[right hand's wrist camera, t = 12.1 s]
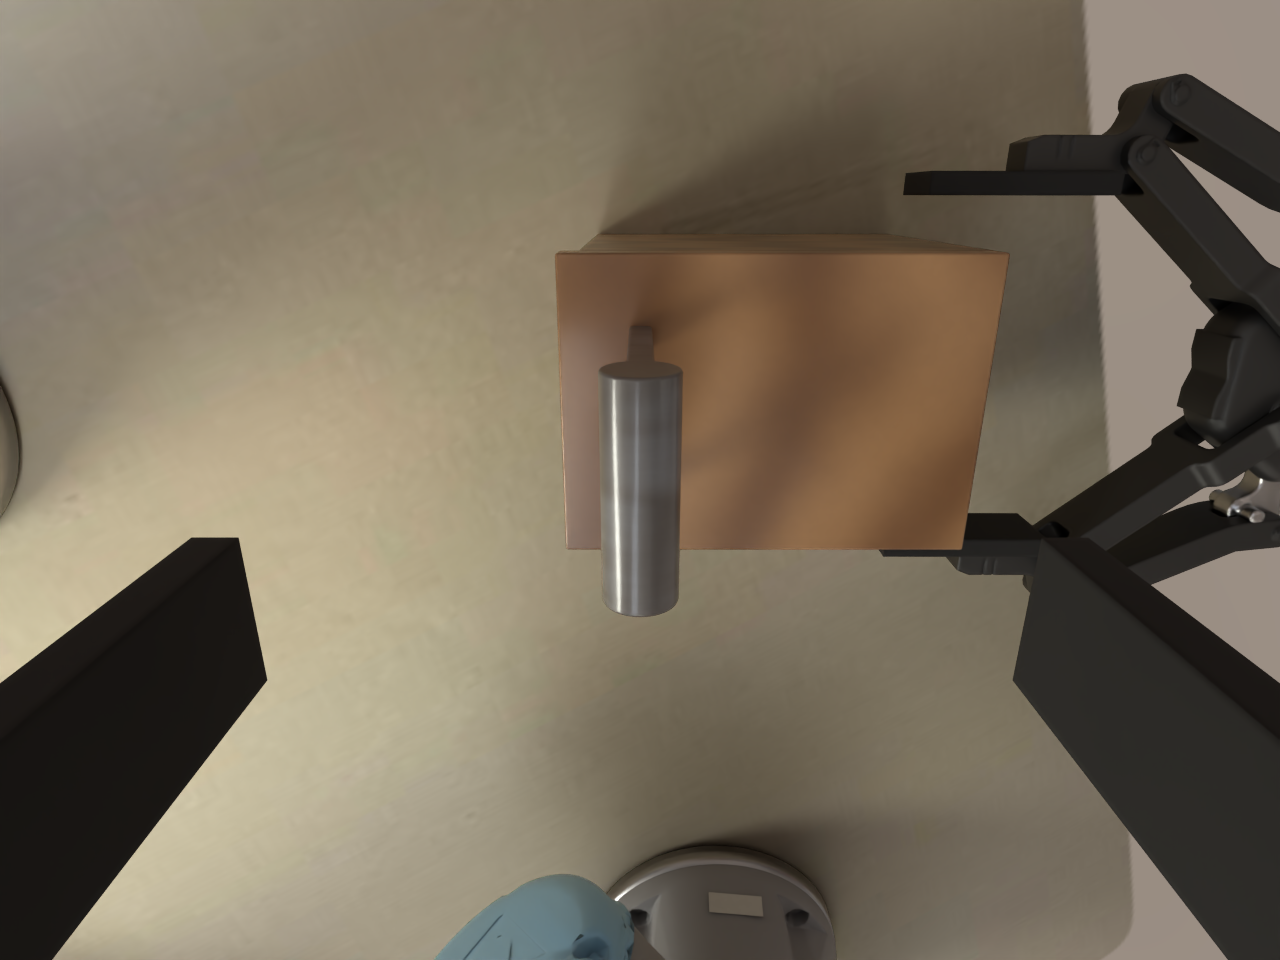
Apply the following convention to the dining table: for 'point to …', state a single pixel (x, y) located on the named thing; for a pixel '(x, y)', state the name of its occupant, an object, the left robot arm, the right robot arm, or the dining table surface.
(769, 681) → the dining table surface
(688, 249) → the wooden box
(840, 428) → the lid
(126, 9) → the dining table surface
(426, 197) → the dining table surface
